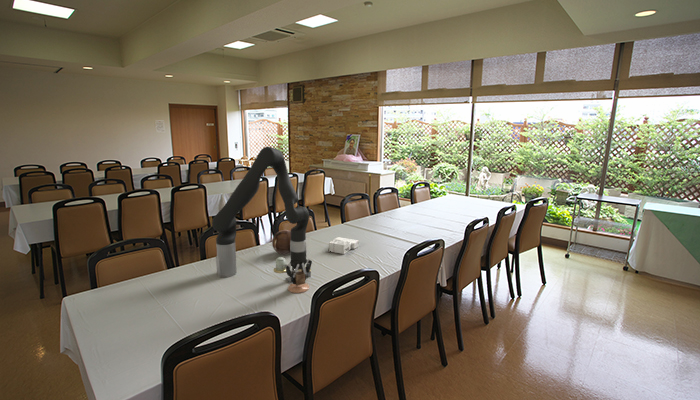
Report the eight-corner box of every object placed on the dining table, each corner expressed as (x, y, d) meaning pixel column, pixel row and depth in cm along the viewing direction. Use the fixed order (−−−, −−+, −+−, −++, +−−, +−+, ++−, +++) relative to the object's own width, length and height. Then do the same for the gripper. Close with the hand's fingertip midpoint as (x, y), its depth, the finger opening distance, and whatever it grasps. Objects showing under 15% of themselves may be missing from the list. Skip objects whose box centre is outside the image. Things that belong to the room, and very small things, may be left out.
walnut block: (296, 285, 164) (296, 276, 163) (292, 282, 167) (292, 272, 166) (305, 283, 166) (305, 273, 165) (300, 280, 170) (300, 270, 169)
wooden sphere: (294, 248, 222) (294, 226, 219) (299, 256, 208) (299, 232, 205) (270, 251, 216) (270, 228, 213) (274, 259, 203) (274, 235, 200)
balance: (277, 287, 168) (277, 273, 166) (271, 282, 173) (271, 268, 172) (313, 277, 179) (313, 264, 178) (306, 273, 185) (306, 260, 183)
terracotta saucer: (294, 295, 160) (294, 293, 160) (284, 287, 168) (284, 285, 168) (312, 289, 166) (312, 288, 166) (302, 282, 174) (302, 280, 174)
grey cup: (278, 271, 168) (278, 261, 166) (274, 268, 171) (274, 257, 170) (287, 269, 170) (287, 259, 169) (283, 266, 174) (282, 256, 173)
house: (349, 257, 209) (349, 247, 207) (322, 252, 216) (322, 243, 215) (363, 246, 229) (364, 237, 227) (338, 242, 236) (339, 233, 235)
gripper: (288, 254, 156) (288, 289, 159) (315, 248, 164) (315, 281, 168) (280, 249, 162) (281, 283, 165) (307, 243, 170) (307, 276, 174)
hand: (298, 282), depth 167 cm, fingers closed on walnut block, 4 cm apart
